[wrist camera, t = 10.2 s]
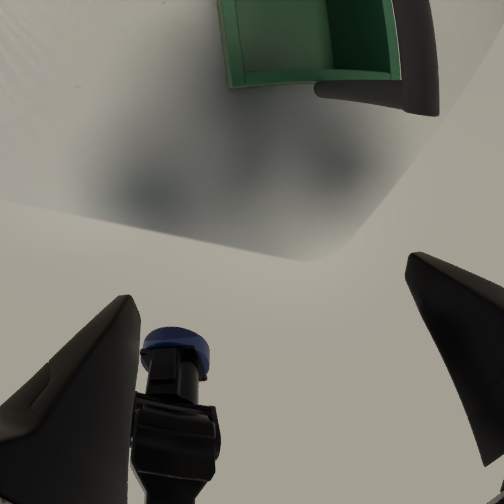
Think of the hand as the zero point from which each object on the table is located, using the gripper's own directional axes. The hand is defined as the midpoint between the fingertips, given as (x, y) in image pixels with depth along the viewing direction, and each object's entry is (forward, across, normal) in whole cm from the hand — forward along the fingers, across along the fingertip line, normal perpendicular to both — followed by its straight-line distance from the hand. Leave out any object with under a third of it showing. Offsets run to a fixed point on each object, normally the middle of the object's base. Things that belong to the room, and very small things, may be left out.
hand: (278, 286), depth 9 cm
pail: (+5, +1, -9) cm, 10 cm away
